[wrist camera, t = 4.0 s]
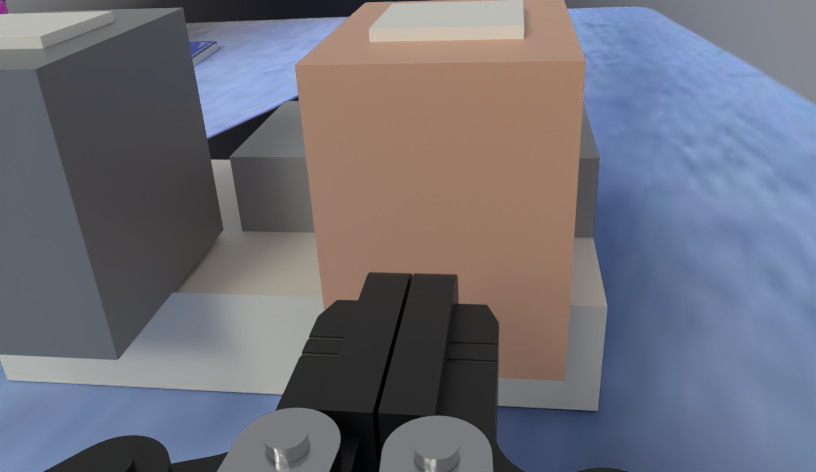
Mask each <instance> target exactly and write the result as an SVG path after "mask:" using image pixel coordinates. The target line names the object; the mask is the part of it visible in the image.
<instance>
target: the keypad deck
mask: <svg viewBox="0 0 816 472" xmlns="http://www.w3.org/2000/svg"><path fill="white" fill-rule="evenodd" d="M599 159H600V158H599V155H598V151H597V148H596V144H595V141H594V137H593V134H592V130H591V127H590V123H589V120H588V116H587V113H586V109H585V106H584V102H583V109H582V124H581V140H580V155H579V171H578V186H577V201H576V217H575V232H574V247H573V263H572V278H571V293H570V309H569V324H568V339H567V355H566V370H565V381H556V380H534V379H513V378H498V406H512V407H531V408H551V409H570V410H589V411H598V403H599V393H600V382H601V371H602V360H603V350H604V339H605V328H606V318H607V307H608V306H607V302H606V297H605V292H604V287H603V282H602V277H601V273H600V268H599V263H598V258H597V253H596V249H595V244H594V239H593V235H594V222H595V210H596V197H597V184H598V171H599ZM211 164H212V169H213V175H214V180H215V185H216V191H217V196H218V202H219V207H220V213H221V218H222V224H223V229H224V230H223V231H222V232H221V234H220V235H219V236H218V237H217V239H216V240H215V241H214V242H213V244H212V245H211V246H210V247H209V249H208V250H207V251H206V252H205V253H204V255H203V256H202V257H201V258H200V260H199V261H198V262H197V263H196V265H195V266H194V267H193V268H192V269H191V271H190V272H189V273H188V274H187V276H186V277H185V278H184V279H183V281H182V282H181V283H180V284H179V285H178V287H177V288H176V289H175V290H174V292H173V293H172V294H171V295H170V297H169V298H168V299H167V300H166V302H165V303H164V304H163V305H162V306H161V308H160V309H159V310H158V311H157V313H156V314H155V315H154V316H153V318H152V319H151V320H150V321H149V322H148V324H147V325H146V326H145V327H144V329H143V330H142V331H141V332H140V334H139V335H138V336H137V337H136V339H135V340H134V341H133V342H132V343H131V345H130V346H129V347H128V348H127V350H126V351H125V352H124V353H123V355H122V356H121V357H120V358H119V359H118V360H105V359H84V358H62V357H41V356H20V355H0V361H1V363H2V366H3V369H4V371H5V374H6V377H7V379H8V380H13V381H33V382H52V383H71V384H90V385H109V386H129V387H148V388H167V389H186V390H205V391H224V392H244V393H263V394H282V395H283V393H284V391H285V388H286V386H287V384H288V382H289V379H290V377H291V375H292V373H293V370H294V368H295V366H296V364H297V362H298V359H299V357H300V356H302V350H303V348H304V346H305V344H306V341H307V340H309V335H310V332H311V330H312V328H313V326H314V324H315V321H316V319H317V317H318V316H319V315H320V314H321V313H322V312H323V311H324V305H323V296H322V288H321V280H320V271H319V263H318V255H317V246H316V238H315V229H314V221H313V213H312V204H311V196H310V187H309V179H308V171H307V162H306V154H305V145H304V137H303V129H302V120H301V112H300V104H299V101H285V102H284V103H283V104H282V105H281V106H280V107H279V108H278V109H277V110H276V111H275V112H274V113H273V114H272V115H271V116H270V117H269V118H268V119H267V120H266V121H265V122H264V123H263V124H262V125H261V126H260V127H259V128H258V129H257V130H256V131H255V132H254V133H253V134H252V135H251V136H250V137H249V138H248V139H247V140H246V141H245V142H244V143H243V144H242V145H241V146H240V147H239V148H238V149H237V150H236V151H235V152H234V153H233V154H232V155H231V156H230V160H211Z"/></svg>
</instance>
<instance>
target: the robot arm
mask: <svg viewBox="0 0 816 472" xmlns="http://www.w3.org/2000/svg"><path fill="white" fill-rule="evenodd" d="M498 366H499V322H498V321H497V319H496V317H495V316H494V314H493V313H492V311H491V310H490V308H489V307H488V305H483V304H459V298H458V276H457V274H427V273H414V275H412V273H387V272H369V273H368V275H367V277H366V280H365V283H364V285H363V288H362V291H361V293H360V296H359V299H358V300H336V301H335V302H334V303H333V304H332V305H330V306H329V307H328V308H327V309H326V310H325V311H323V312H322V313H321V314H320V315H319V316H318V317H317V319H316V321H315V324H314V326H313V328H312V330H311V332H310V335H309V340H307V341H306V344H305V346H304V348H303V350H302V356H300V357H299V359H298V362H297V364H296V366H295V368H294V370H293V373H292V375H291V377H290V379H289V382H288V384H287V386H286V388H285V391H284V393H283V395H282V397H281V399H280V402H279V404H278V406H277V408H276V411H274V412H270V413H268V414H266V415H263V416H261V417H259V418H258V419H256V420H254V421H253V422H252V423H250V424H249V425H248V426H247V427H246V428H245V429H244V430H243V431H242V432H241V433H240V434H239V436H238V437H237V439H236V441H235V442H234V444H233V446H232V447H231V449H230V451H229V452H226V453H223V454H219V455H215V456H211V457H205V458H200V459H194V460H189V461H183V462H178V463H173V464H171V461H170V457H169V454H168V452H167V450H166V448H165V447H164V445H162V444H161V443H160V442H159V441H157V440H155V439H153V438H149V437H145V436H137V435H134V436H122V437H116V438H112V439H108V440H105V441H103V442H100V443H98V444H95V445H93V446H91V447H89V448H87V449H85V450H83V451H82V452H80V453H78V454H76V455H74V456H72V457H70V458H68V459H66V460H65V461H63V462H61V463H59V464H57V465H55V466H53V467H51V468H50V469H48V470H46V471H44V472H524V471H523V470H521V469H519V468H518V467H516V466H515V465H514V464H512V463H511V462H510V461H509V460H508V459H507V458H506V457H505V455H504V454H503V453H502V451H501V450H500V448H499V446H498V444H497V441H496V437H497V411H498ZM578 472H626V471H623V470H619V469H612V468H591V469H586V470H582V471H578Z"/></svg>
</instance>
